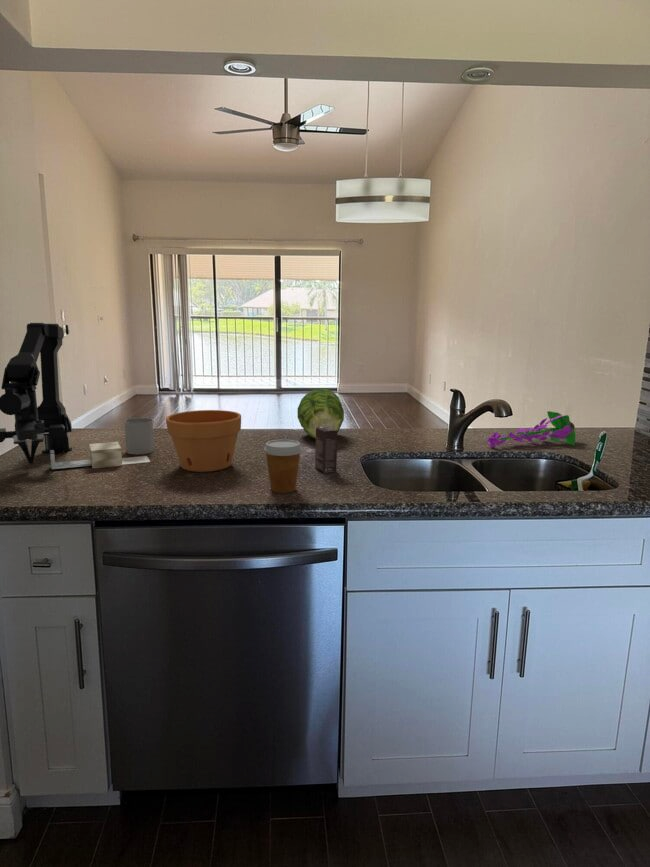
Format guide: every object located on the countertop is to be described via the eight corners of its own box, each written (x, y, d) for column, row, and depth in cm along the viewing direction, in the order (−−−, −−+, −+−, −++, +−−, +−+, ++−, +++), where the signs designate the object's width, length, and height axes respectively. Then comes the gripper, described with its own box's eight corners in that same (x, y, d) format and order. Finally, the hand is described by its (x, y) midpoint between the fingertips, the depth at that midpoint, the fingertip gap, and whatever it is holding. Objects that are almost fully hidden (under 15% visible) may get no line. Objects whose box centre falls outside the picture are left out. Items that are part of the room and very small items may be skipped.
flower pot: (153, 471, 164) (150, 419, 160) (194, 453, 183) (192, 407, 180) (219, 479, 157) (217, 425, 153) (254, 460, 176) (253, 412, 173)
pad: (122, 464, 169) (122, 464, 169) (119, 459, 176) (119, 458, 175) (150, 462, 172) (150, 461, 172) (146, 456, 179) (146, 455, 179)
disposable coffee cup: (271, 496, 143) (271, 449, 140) (259, 485, 151) (259, 440, 149) (307, 492, 146) (307, 445, 144) (294, 481, 155) (294, 437, 152)
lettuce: (321, 463, 198) (289, 429, 192) (316, 436, 219) (287, 405, 213) (359, 432, 195) (328, 398, 189) (350, 408, 216) (322, 376, 210)
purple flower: (579, 454, 205) (498, 471, 192) (550, 423, 215) (472, 438, 202) (595, 428, 196) (512, 444, 183) (564, 397, 207) (483, 411, 194)
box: (337, 471, 165) (338, 429, 163) (323, 473, 163) (323, 431, 161) (328, 466, 170) (328, 425, 168) (314, 467, 168) (314, 427, 166)
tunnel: (92, 468, 165) (91, 450, 164) (90, 461, 173) (89, 444, 172) (122, 465, 168) (121, 448, 167) (118, 458, 176) (117, 441, 175)
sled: (51, 469, 162) (50, 454, 161) (51, 465, 167) (50, 450, 166) (117, 462, 170) (116, 448, 169) (115, 459, 174) (114, 444, 173)
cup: (145, 455, 181) (144, 423, 178) (121, 453, 182) (119, 422, 180) (158, 448, 189) (157, 418, 186) (135, 447, 190) (133, 417, 188)
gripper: (-17, 415, 148) (-10, 474, 151) (63, 411, 156) (68, 467, 159) (-13, 408, 158) (-7, 464, 161) (62, 404, 165) (67, 457, 169)
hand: (31, 463), depth 162 cm, fingers closed
